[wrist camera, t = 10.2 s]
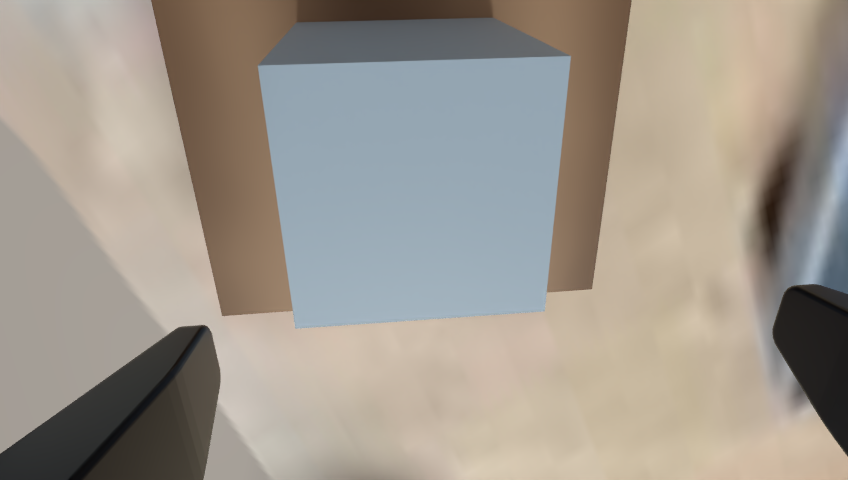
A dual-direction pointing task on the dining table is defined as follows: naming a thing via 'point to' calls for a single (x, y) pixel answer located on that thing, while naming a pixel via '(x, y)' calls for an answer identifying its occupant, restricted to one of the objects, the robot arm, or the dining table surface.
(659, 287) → the dining table surface
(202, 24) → the walnut slab
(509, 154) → the slate block
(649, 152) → the dining table surface
